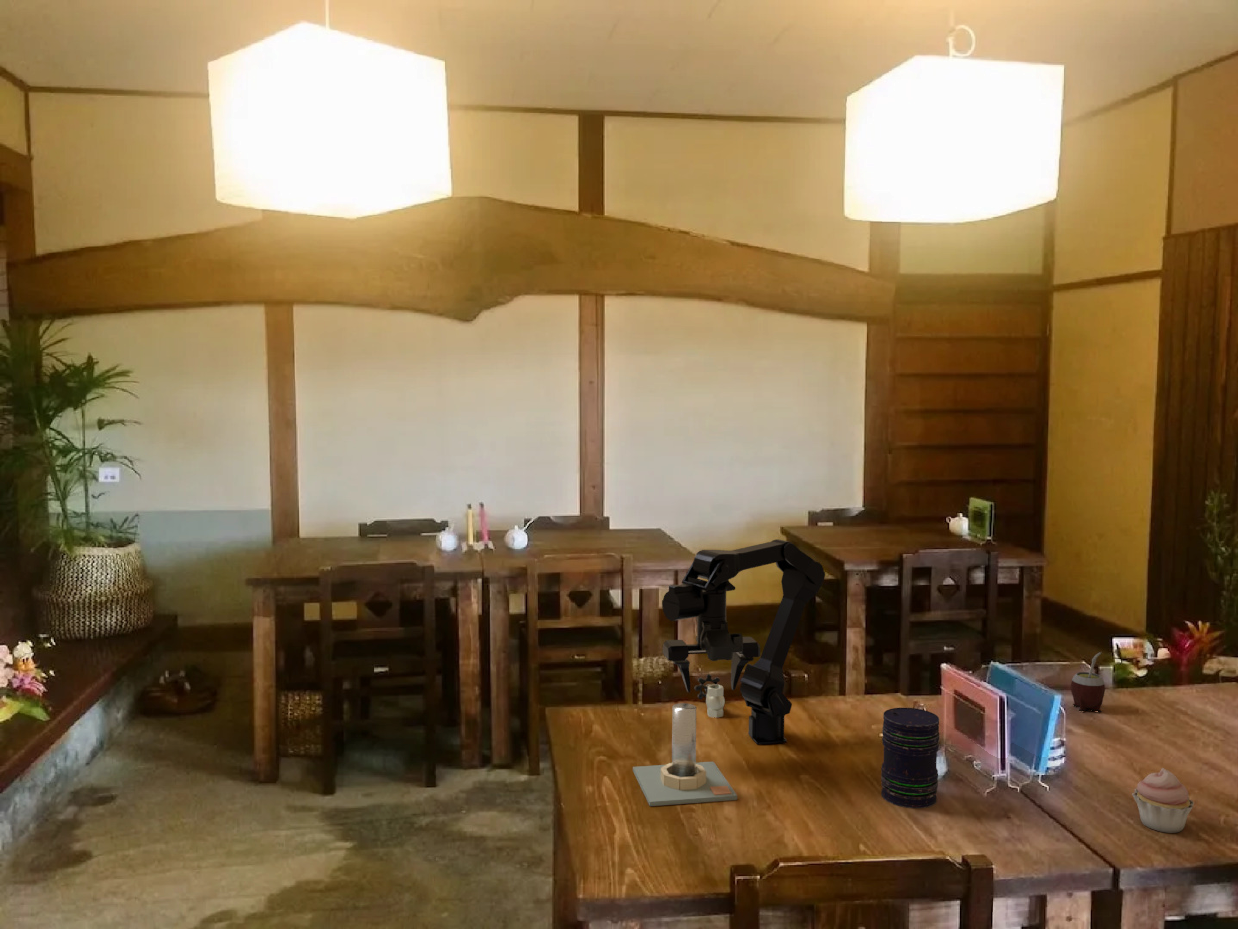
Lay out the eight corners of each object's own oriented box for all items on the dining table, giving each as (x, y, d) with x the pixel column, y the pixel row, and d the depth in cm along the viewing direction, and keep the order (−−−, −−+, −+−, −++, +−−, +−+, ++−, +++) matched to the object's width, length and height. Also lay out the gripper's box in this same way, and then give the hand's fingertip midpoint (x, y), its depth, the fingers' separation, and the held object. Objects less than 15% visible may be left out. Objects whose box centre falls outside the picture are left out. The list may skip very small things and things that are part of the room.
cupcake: (1127, 809, 175) (1130, 754, 174) (1188, 818, 172) (1191, 762, 171) (1133, 832, 166) (1136, 774, 166) (1197, 842, 163) (1200, 783, 162)
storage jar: (943, 793, 182) (945, 713, 181) (930, 813, 174) (932, 729, 172) (888, 781, 187) (890, 704, 186) (873, 800, 179) (875, 719, 177)
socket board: (713, 765, 195) (713, 751, 194) (737, 799, 179) (737, 784, 179) (632, 771, 192) (632, 756, 192) (649, 806, 176) (649, 791, 176)
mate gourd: (1078, 702, 233) (1081, 639, 231) (1113, 711, 227) (1116, 646, 225) (1063, 709, 228) (1066, 644, 227) (1098, 718, 222) (1101, 652, 221)
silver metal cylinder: (684, 774, 188) (684, 701, 187) (700, 781, 185) (701, 707, 184) (666, 780, 186) (667, 706, 184) (683, 787, 182) (684, 713, 181)
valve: (731, 718, 222) (722, 700, 234) (731, 689, 221) (722, 673, 233) (701, 718, 221) (694, 701, 233) (702, 689, 221) (694, 673, 233)
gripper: (675, 626, 189) (674, 706, 190) (769, 622, 192) (768, 701, 193) (662, 612, 199) (662, 688, 201) (752, 608, 203) (751, 683, 204)
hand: (710, 690), depth 199 cm, fingers open, 9 cm apart
